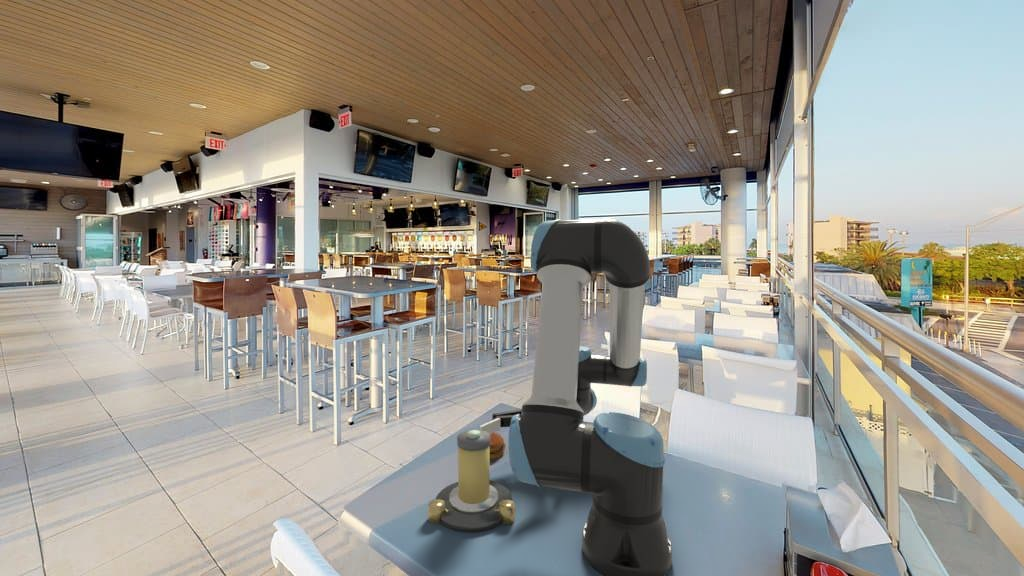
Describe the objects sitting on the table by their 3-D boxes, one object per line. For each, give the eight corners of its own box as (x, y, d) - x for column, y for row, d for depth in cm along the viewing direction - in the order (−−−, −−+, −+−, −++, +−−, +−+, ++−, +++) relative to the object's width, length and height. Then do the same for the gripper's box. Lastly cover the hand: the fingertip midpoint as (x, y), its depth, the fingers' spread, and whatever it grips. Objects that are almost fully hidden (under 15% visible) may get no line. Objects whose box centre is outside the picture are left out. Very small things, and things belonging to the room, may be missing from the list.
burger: (496, 441, 116) (496, 425, 116) (510, 456, 108) (510, 439, 107) (463, 448, 112) (462, 432, 112) (474, 464, 104) (474, 446, 103)
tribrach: (528, 517, 82) (528, 502, 82) (444, 547, 74) (443, 531, 74) (490, 477, 97) (490, 465, 97) (416, 498, 89) (416, 485, 88)
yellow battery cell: (496, 498, 84) (496, 435, 83) (465, 508, 81) (464, 442, 80) (482, 482, 90) (481, 423, 89) (452, 491, 87) (452, 430, 86)
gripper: (599, 441, 100) (548, 476, 84) (519, 415, 116) (463, 440, 100) (599, 410, 99) (548, 440, 83) (519, 389, 116) (463, 410, 99)
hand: (502, 440), depth 92 cm, fingers open, 13 cm apart
